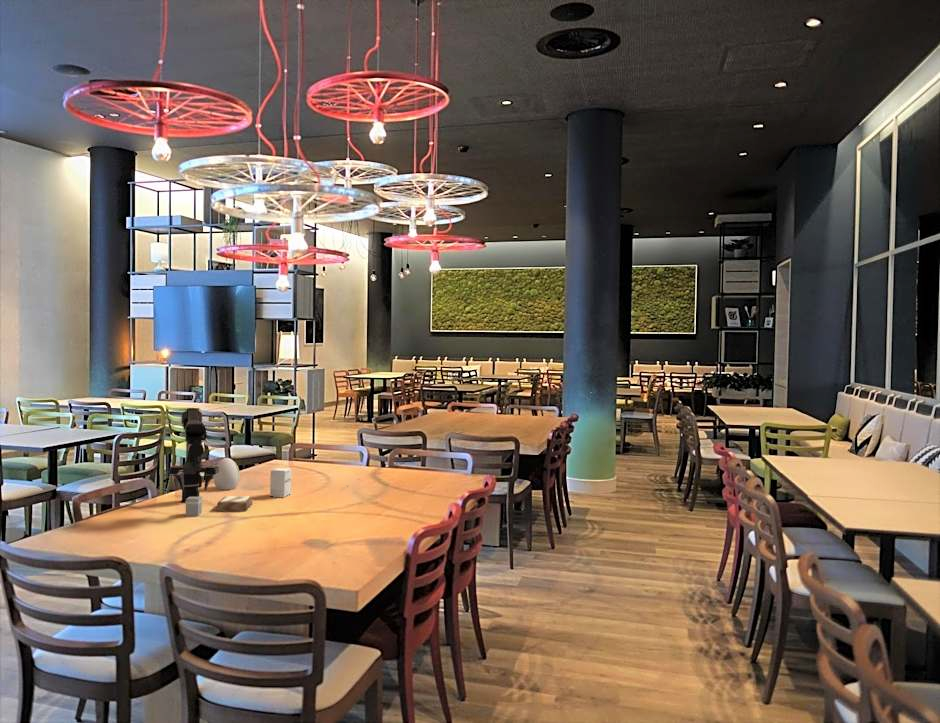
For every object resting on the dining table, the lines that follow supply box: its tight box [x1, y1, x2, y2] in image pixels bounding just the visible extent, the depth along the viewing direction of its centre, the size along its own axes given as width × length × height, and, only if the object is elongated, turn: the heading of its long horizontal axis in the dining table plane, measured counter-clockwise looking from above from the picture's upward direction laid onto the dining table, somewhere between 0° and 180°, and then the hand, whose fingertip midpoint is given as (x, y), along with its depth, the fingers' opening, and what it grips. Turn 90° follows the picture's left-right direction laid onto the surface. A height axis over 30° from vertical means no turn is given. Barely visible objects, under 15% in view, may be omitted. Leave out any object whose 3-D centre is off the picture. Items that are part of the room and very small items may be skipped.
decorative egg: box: [212, 457, 241, 491], centre depth 345 cm, size 12×12×15 cm
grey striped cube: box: [185, 496, 203, 517], centre depth 292 cm, size 5×5×7 cm
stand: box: [216, 495, 253, 512], centre depth 305 cm, size 12×12×4 cm
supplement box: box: [269, 467, 292, 498], centre depth 331 cm, size 7×7×13 cm
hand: (194, 490), depth 292 cm, fingers open, 9 cm apart
